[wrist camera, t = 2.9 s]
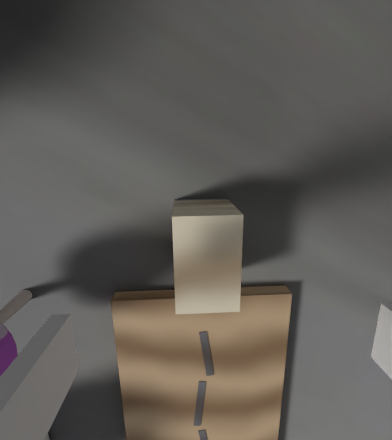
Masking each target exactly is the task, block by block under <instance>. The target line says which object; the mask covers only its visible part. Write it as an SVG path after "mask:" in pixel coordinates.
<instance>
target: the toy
mask: <svg viewBox="0 0 392 440" xmlns="http://www.w3.org/2000/svg"><path fill="white" fill-rule="evenodd" d="M31 298H32V293H31V292H30V291H29V290H22V291H20V292H19V293H18V294H17V295H16V296H15V297H14V298H13V299H12V300H11V301H9V302H8V303H7V304H6V305H5V306H4V307H3V308H2V309H1V310H0V376H1V375H2V374H3V373H4V372H5V370H6V369H7V368H8V367H9V366H10V364H11V363H12V362H13V361H14V360H15V358H16V357H17V356H18V355H17V348H16V343H15V341H14V339H13V336H12V335H11V333H10V332H9V331H8V329H7V328H6V327H5V326H4V325H3V324H4V323H5V322H6V321H7V320H8V319H9V318H10V317H11V316H13V315H14V314H15V313H16V312H17V311H18V310H19V309H21V308H22V307H23V306H24V305H25V304H26V303H27V302H28V301H29V300H30V299H31Z"/></svg>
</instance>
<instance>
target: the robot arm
mask: <svg viewBox="0 0 392 440" xmlns="http://www.w3.org/2000/svg"><path fill="white" fill-rule="evenodd" d="M371 357H372V359H373V360H374V361H375V362H376V363H377V364H378V365H379V366H380V367H381V368H382V369H383V370H384V372H385V373H386V374H387V375H388V376H389V377H390V378H391V379H392V303H381V307H380V313H379V318H378V323H377V328H376V333H375V338H374V344H373V349H372V354H371ZM78 371H79V364H78V358H77V352H76V345H75V339H74V332H73V326H72V320H71V314H65V315H51V316H50V318H49V319H48V320H47V321H46V322H45V324H44V325H43V326H42V327H41V328H40V330H39V331H38V332H37V333H36V334H35V336H34V337H33V338H32V339H31V340H30V342H29V343H28V344H27V345H26V346H25V348H24V349H23V350H22V351H21V352H20V354H19V355H18V356H17V357H16V358H15V360H14V361H13V362H12V363H11V364H10V366H9V367H8V368H7V369H6V370H5V372H4V373H3V374H2V375H1V376H0V440H45V438H46V436H47V434H48V432H49V430H50V428H51V426H52V423H53V421H54V419H55V417H56V415H57V413H58V411H59V409H60V407H61V405H62V403H63V401H64V399H65V397H66V395H67V393H68V391H69V389H70V387H71V385H72V383H73V381H74V379H75V377H76V375H77V373H78Z"/></svg>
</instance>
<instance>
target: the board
mask: <svg viewBox="0 0 392 440" xmlns="http://www.w3.org/2000/svg"><path fill="white" fill-rule="evenodd" d="M291 301H292V293H291V292H290V290H289V289H288V288H287V287H286V285H284V286H257V287H241V294H240V312H224V313H200V314H176V313H175V290H151V291H125V292H115V294H114V296H113V298H112V300H111V306H112V315H113V324H114V333H115V342H116V351H117V360H118V369H119V378H120V387H121V396H122V404H123V413H124V422H125V431H126V440H278V433H279V423H280V413H281V403H282V393H283V382H284V372H285V362H286V352H287V342H288V332H289V321H290V311H291Z"/></svg>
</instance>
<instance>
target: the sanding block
mask: <svg viewBox="0 0 392 440" xmlns="http://www.w3.org/2000/svg"><path fill="white" fill-rule="evenodd" d="M243 216H244V215H243V214H242V213H241V212H240V211H239V210H238V209H237V208H236V207H235V206H234V205H233V204H232V203H231V202H230V201H229V200H228V199H227V198H226V199H178V200H175V201H174V207H173V213H172V232H173V259H174V286H175V313H176V314H200V313H224V312H240V294H241V268H242V242H243Z"/></svg>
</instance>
